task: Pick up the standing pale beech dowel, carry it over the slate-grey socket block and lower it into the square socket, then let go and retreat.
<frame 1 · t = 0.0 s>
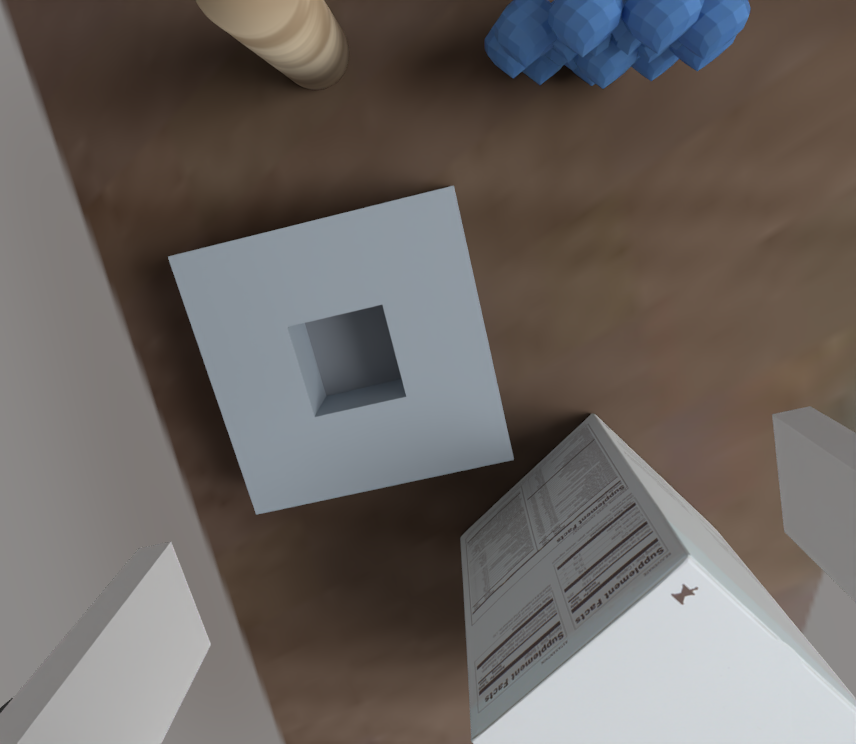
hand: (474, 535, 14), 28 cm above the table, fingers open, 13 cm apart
supplement box: (587, 533, 45), on the table
grapes: (582, 40, 37), on the table
peg: (314, 52, 37), on the table
socket block: (358, 342, 42), on the table
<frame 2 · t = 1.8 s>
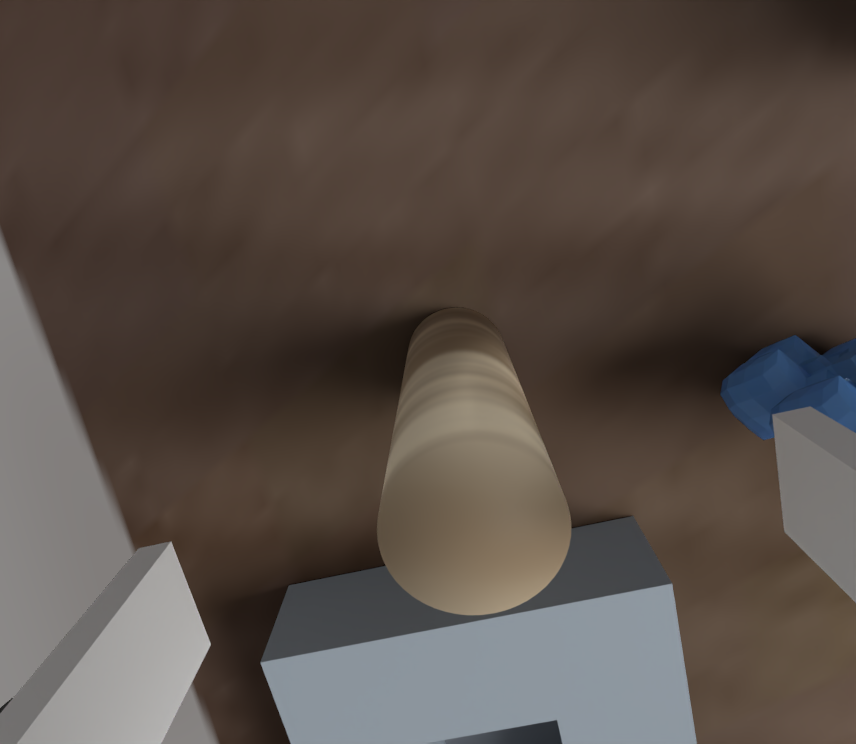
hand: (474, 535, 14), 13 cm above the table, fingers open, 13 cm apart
grapes: (829, 341, 27), on the table
peg: (456, 355, 27), on the table
socket block: (493, 691, 32), on the table
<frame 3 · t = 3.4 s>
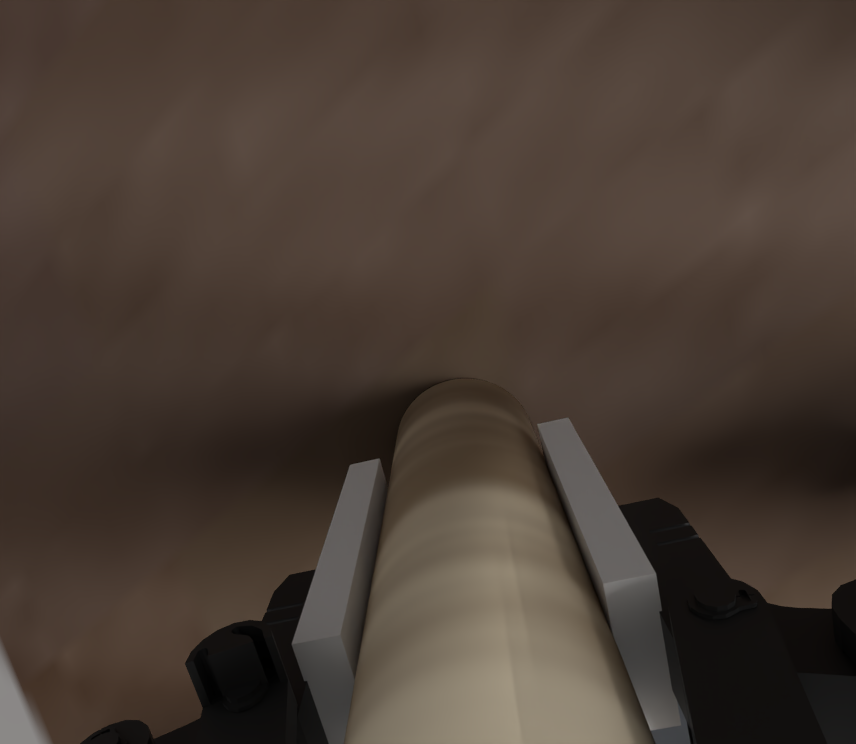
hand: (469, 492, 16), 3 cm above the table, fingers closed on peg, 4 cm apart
peg: (465, 443, 19), on the table, touching gripper
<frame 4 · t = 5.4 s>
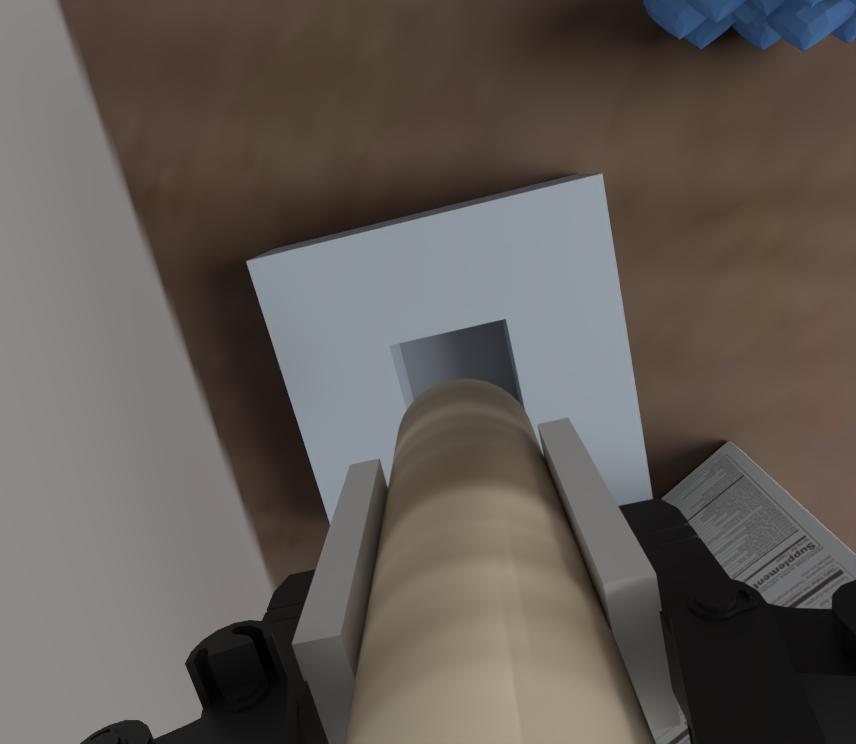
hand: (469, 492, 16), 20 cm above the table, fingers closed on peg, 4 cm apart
supplement box: (711, 576, 39), on the table
peg: (465, 444, 19), point 16 cm above the table, touching gripper
socket block: (457, 358, 35), on the table
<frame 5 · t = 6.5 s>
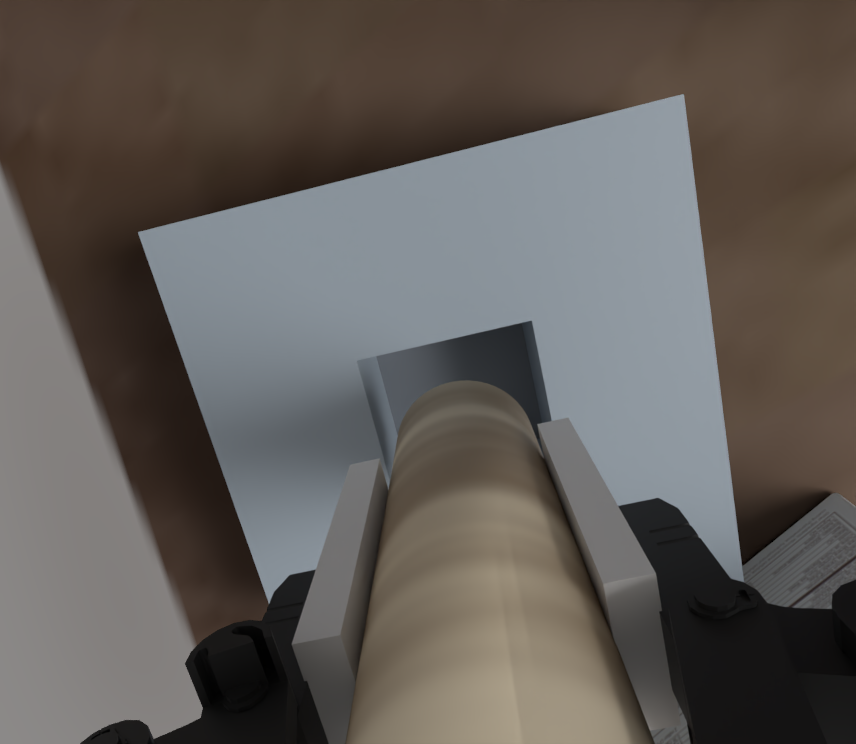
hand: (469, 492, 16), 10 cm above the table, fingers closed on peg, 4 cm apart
supplement box: (802, 671, 29), on the table
peg: (465, 445, 19), point 7 cm above the table, touching gripper
socket block: (458, 378, 25), on the table
when the fingers open (6 cm above the table, at t = 7.4 s): peg drops 2 cm, resting on socket block.
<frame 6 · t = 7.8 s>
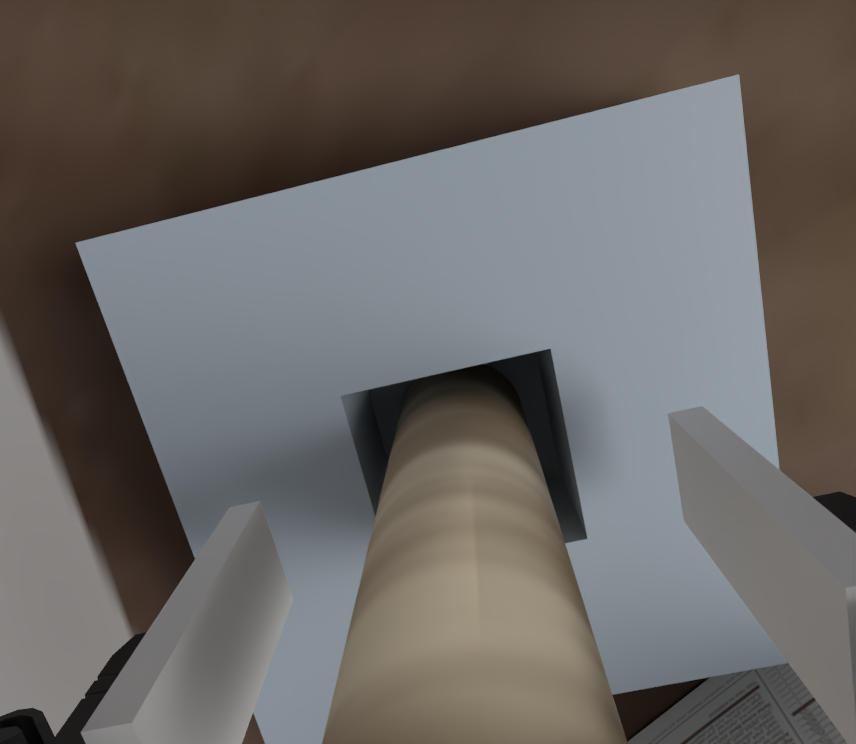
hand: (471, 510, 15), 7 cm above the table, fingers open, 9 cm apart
supplement box: (849, 735, 26), on the table
peg: (461, 419, 21), point 1 cm above the table, touching socket block
socket block: (461, 408, 22), on the table
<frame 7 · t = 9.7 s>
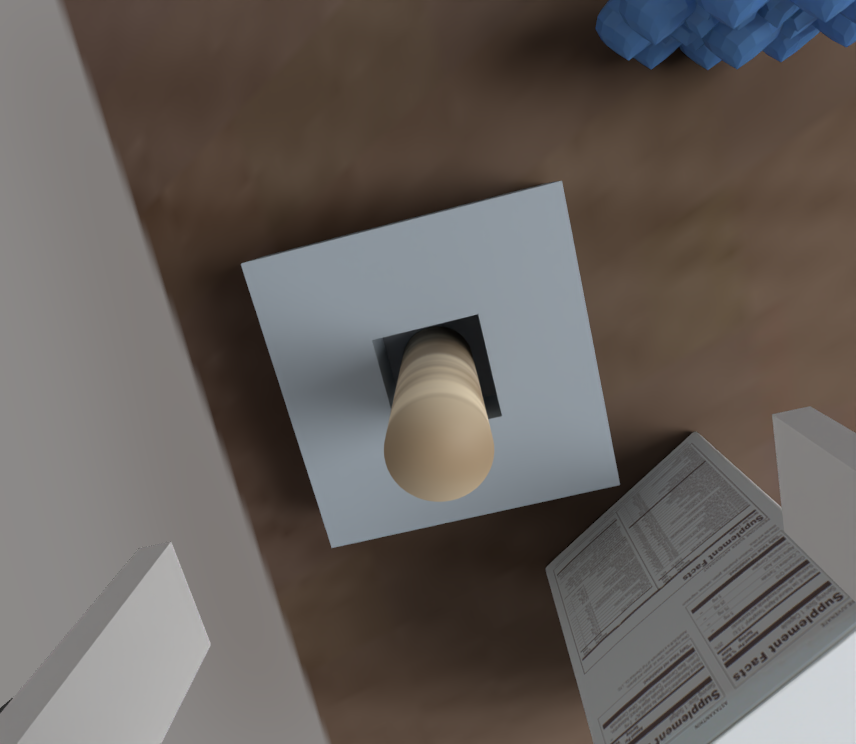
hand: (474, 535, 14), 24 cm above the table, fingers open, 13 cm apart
supplement box: (684, 562, 41), on the table
grapes: (693, 21, 33), on the table
peg: (437, 360, 37), point 1 cm above the table, touching socket block
socket block: (438, 356, 38), on the table
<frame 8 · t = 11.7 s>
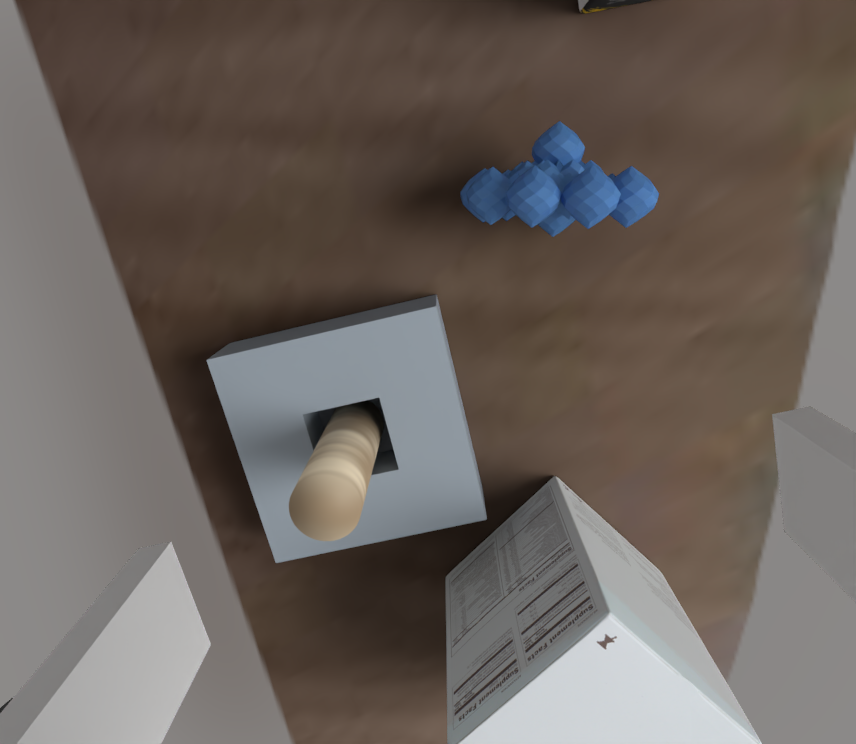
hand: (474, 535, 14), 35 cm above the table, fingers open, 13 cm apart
supplement box: (552, 573, 54), on the table
grapes: (541, 181, 45), on the table
peg: (357, 423, 49), point 1 cm above the table, touching socket block
socket block: (359, 418, 50), on the table
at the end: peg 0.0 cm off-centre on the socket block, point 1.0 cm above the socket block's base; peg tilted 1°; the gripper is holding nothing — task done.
